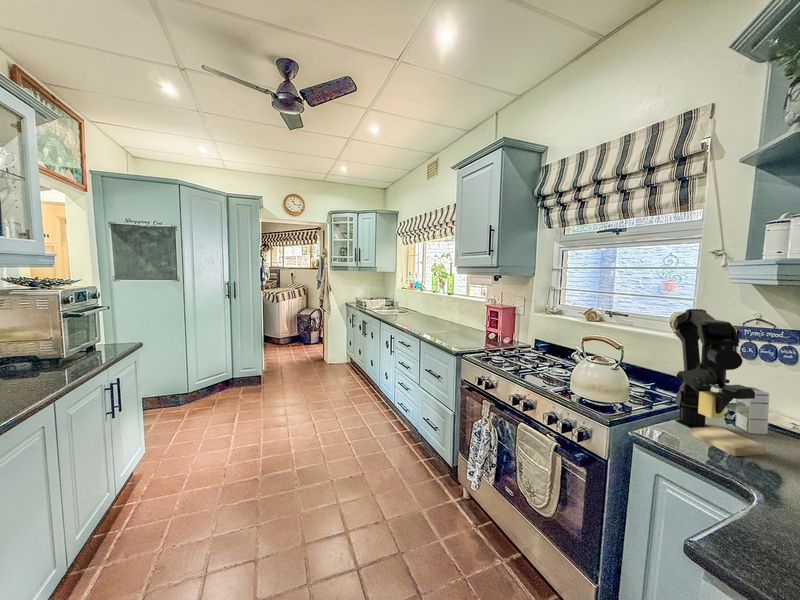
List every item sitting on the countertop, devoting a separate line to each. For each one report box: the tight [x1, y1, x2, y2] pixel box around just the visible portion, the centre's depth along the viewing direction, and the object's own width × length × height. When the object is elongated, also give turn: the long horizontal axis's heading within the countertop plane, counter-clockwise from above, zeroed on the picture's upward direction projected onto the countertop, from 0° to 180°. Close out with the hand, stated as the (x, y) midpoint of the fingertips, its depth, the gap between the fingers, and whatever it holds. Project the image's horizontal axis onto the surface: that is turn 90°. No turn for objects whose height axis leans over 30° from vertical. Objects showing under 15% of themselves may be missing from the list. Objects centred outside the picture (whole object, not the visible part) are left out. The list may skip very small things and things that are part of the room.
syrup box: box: [734, 386, 770, 435], centre depth 111 cm, size 6×6×14 cm
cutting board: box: [691, 426, 766, 457], centre depth 102 cm, size 13×10×2 cm
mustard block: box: [698, 390, 725, 419], centre depth 101 cm, size 4×4×7 cm
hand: (710, 410), depth 101 cm, fingers closed on mustard block, 4 cm apart
